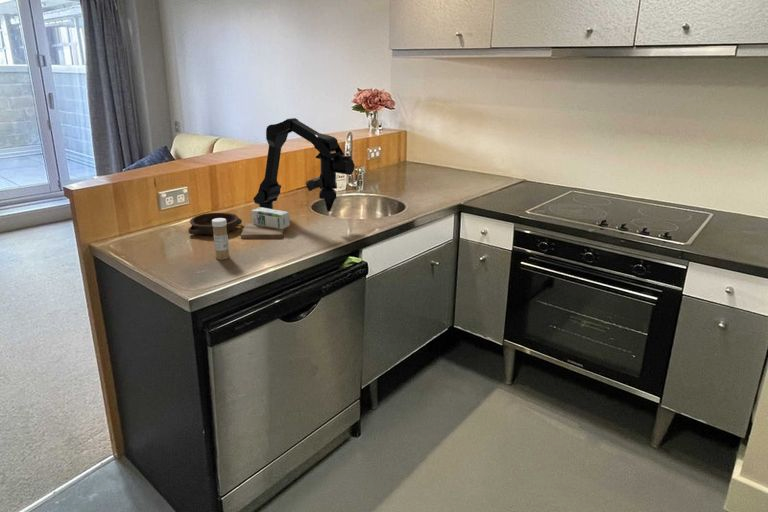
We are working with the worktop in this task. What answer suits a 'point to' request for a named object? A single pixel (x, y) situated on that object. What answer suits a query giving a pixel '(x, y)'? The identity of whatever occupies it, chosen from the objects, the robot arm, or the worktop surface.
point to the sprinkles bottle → (220, 238)
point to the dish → (204, 223)
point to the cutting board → (261, 231)
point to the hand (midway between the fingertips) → (328, 211)
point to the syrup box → (270, 218)
